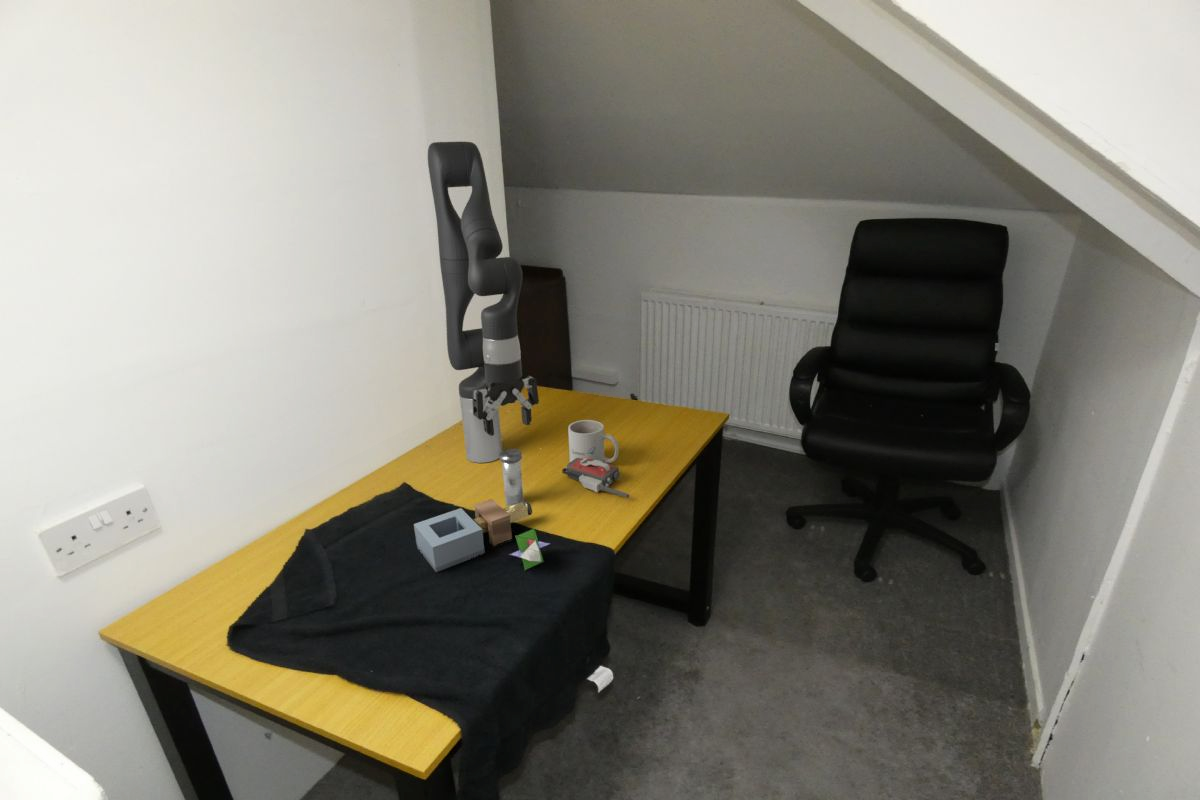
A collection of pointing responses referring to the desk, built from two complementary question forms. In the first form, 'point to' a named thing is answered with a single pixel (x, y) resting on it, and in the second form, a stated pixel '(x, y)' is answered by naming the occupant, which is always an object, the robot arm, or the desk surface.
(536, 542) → the geometric puzzle
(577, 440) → the mug
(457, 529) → the dock socket
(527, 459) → the desk surface
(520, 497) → the silver round-topped cylinder
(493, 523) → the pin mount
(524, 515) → the lock pin
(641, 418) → the desk surface
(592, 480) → the walkie-talkie
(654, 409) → the desk surface
